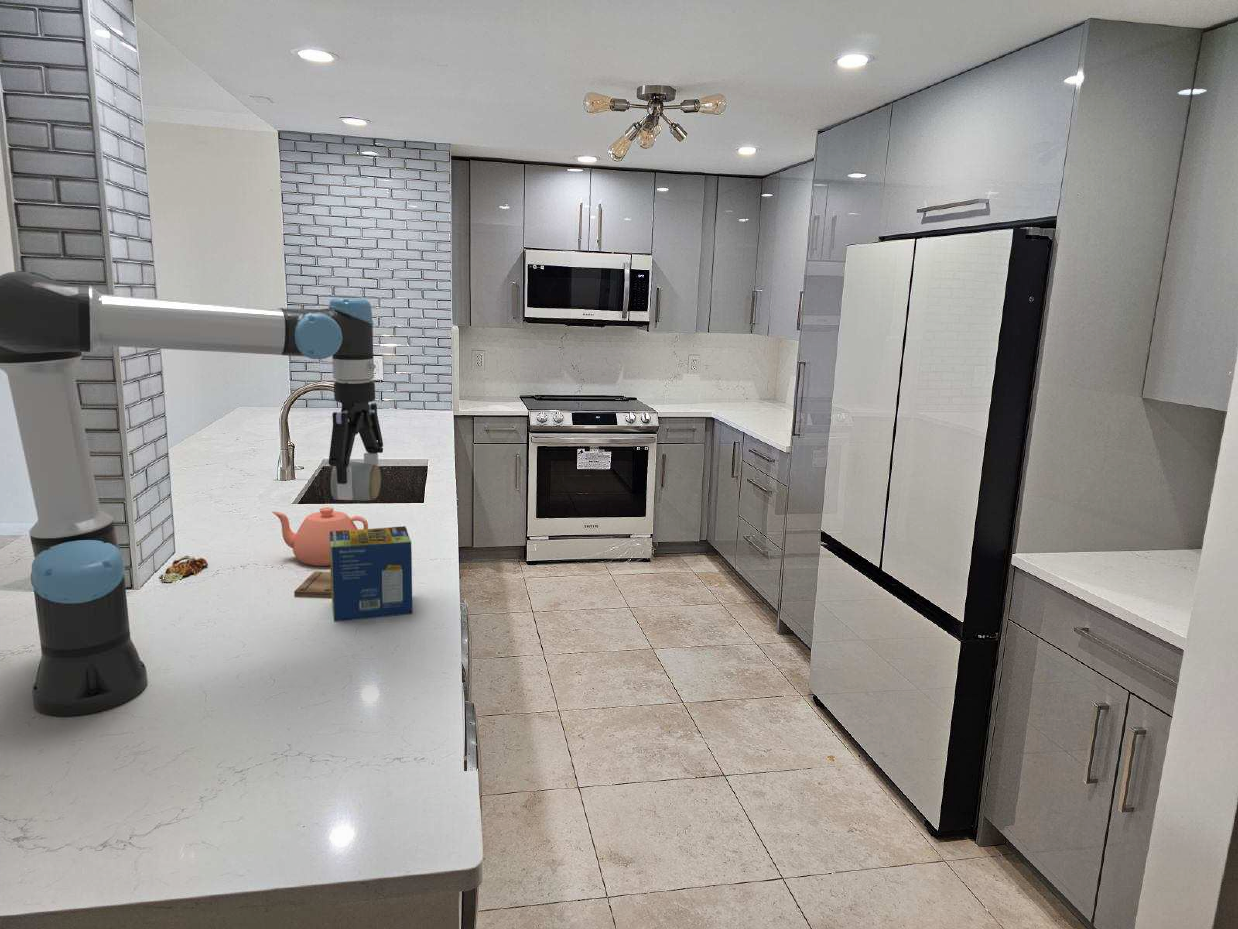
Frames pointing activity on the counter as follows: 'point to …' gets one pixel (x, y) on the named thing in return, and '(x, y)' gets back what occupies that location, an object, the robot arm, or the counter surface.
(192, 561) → the grilled chicken meal
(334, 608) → the protein box
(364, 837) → the counter surface
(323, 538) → the teapot
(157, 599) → the counter surface
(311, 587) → the walnut board
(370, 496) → the ceramic mug
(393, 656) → the counter surface
